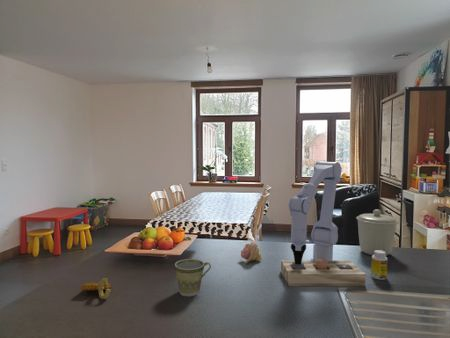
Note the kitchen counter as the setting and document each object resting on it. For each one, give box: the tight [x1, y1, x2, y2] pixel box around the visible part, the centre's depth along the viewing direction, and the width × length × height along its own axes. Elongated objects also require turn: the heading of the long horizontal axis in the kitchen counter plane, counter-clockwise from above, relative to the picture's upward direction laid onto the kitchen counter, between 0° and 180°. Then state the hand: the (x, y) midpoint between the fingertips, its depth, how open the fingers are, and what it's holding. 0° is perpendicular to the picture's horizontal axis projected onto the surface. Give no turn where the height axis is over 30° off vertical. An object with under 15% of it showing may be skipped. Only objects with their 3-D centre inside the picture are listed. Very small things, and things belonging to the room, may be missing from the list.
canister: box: [355, 209, 399, 257], centre depth 156 cm, size 18×18×21 cm
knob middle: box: [315, 259, 328, 269], centre depth 125 cm, size 4×4×4 cm
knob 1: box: [292, 262, 304, 269], centre depth 125 cm, size 4×4×4 cm
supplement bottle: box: [370, 250, 388, 281], centre depth 127 cm, size 6×6×10 cm
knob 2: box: [338, 264, 351, 269], centre depth 126 cm, size 4×4×4 cm
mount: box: [280, 259, 367, 287], centre depth 126 cm, size 14×28×4 cm, turn 92°
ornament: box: [80, 277, 112, 300], centre depth 111 cm, size 7×10×15 cm
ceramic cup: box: [174, 258, 212, 297], centre depth 113 cm, size 13×10×10 cm
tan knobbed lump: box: [240, 240, 263, 265], centre depth 143 cm, size 9×10×10 cm
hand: (297, 263), depth 125 cm, fingers closed, pressing on knob 1
